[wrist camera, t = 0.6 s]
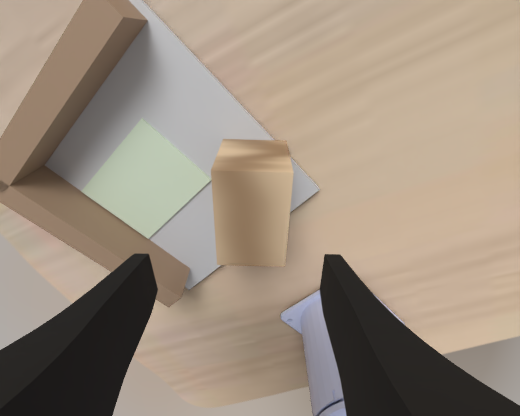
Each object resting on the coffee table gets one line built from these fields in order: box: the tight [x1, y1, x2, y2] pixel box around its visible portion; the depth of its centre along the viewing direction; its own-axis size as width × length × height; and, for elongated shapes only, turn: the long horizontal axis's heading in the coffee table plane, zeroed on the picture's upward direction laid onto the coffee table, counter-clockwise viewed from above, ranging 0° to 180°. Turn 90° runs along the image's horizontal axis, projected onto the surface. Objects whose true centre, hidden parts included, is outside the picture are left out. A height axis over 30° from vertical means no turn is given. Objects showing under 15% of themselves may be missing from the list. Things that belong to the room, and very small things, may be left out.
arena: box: [0, 0, 320, 307], centre depth 19 cm, size 16×14×4 cm
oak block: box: [211, 139, 294, 267], centre depth 18 cm, size 4×6×5 cm, turn 179°
